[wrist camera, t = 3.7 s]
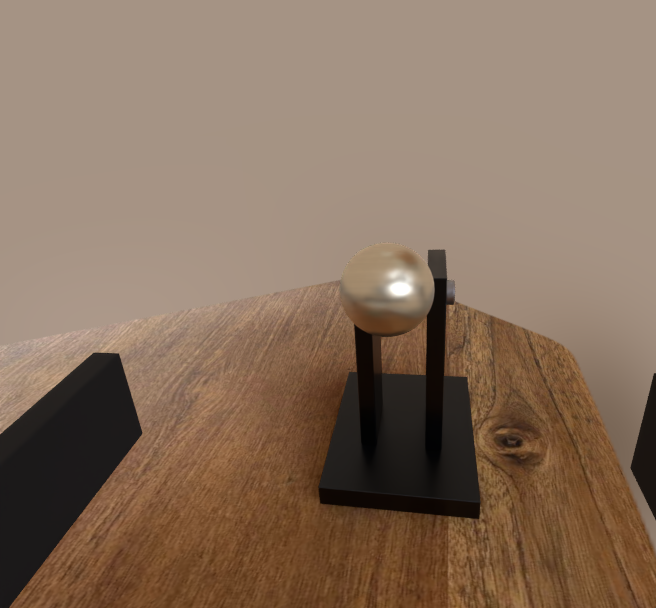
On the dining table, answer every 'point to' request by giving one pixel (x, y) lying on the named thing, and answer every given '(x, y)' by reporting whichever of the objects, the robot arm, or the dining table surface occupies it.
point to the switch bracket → (405, 428)
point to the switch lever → (387, 289)
